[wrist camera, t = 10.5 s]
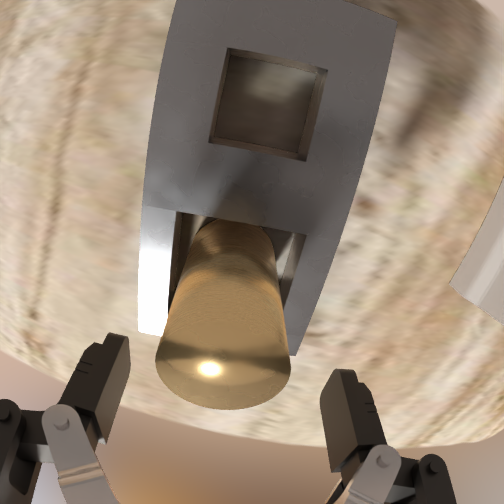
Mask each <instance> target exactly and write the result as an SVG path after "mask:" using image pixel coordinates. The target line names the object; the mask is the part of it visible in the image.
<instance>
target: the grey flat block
mask: <svg viewBox="0 0 504 504" xmlns="http://www.w3.org/2000/svg"><path fill="white" fill-rule="evenodd" d="M396 26H397V21H395V20H393V19H391V18H388V17H386V16H384V15H381V14H379V13H376V12H374V11H371V10H369V9H366V8H363V7H361V6H358V5H355V4H352V3H349V2H346V1H343V0H176V4H175V8H174V12H173V15H172V19H171V23H170V27H169V32H168V36H167V40H166V45H165V49H164V54H163V59H162V64H161V69H160V74H159V79H158V84H157V90H156V96H155V102H154V108H153V114H152V121H151V128H150V135H149V142H148V150H147V159H146V168H145V178H144V188H143V200H142V214H141V229H140V250H139V331H140V332H145V333H149V334H154V335H159V336H162V333H163V330H164V327H165V323H166V320H167V317H168V314H169V311H170V308H171V304H172V301H173V298H174V295H175V283H176V272H177V262H178V252H179V243H180V234H181V226H182V218H183V212H185V213H191V214H197V215H202V216H208V217H214V218H219V219H225V220H231V221H236V222H242V223H247V224H253V225H258V226H263V227H269V228H274V229H279V230H284V231H290V232H295V235H294V239H293V242H292V246H291V249H290V252H289V256H288V259H287V263H286V266H285V270H284V273H283V276H282V280H281V283H280V287H279V288H280V295H281V301H282V308H283V315H284V322H285V329H286V336H287V343H288V350H289V355H291V356H296V354H297V351H298V349H299V346H300V344H301V342H302V339H303V337H304V334H305V332H306V329H307V327H308V324H309V322H310V319H311V317H312V314H313V312H314V309H315V307H316V304H317V301H318V299H319V296H320V293H321V291H322V288H323V285H324V283H325V280H326V277H327V275H328V272H329V269H330V266H331V264H332V261H333V258H334V255H335V252H336V249H337V246H338V244H339V241H340V238H341V235H342V232H343V229H344V226H345V223H346V220H347V217H348V214H349V210H350V207H351V204H352V201H353V198H354V195H355V191H356V188H357V185H358V182H359V178H360V175H361V171H362V168H363V165H364V161H365V158H366V154H367V151H368V147H369V143H370V140H371V136H372V132H373V129H374V125H375V121H376V117H377V113H378V109H379V105H380V101H381V97H382V93H383V89H384V84H385V80H386V75H387V71H388V66H389V62H390V57H391V52H392V47H393V42H394V37H395V32H396ZM230 55H233V56H240V57H245V58H251V59H256V60H261V61H266V62H271V63H276V64H280V65H284V66H289V67H293V68H297V69H301V70H305V71H309V72H312V73H316V74H317V75H316V79H315V83H314V88H313V92H312V96H311V100H310V105H309V109H308V113H307V117H306V121H305V125H304V130H303V134H302V138H301V142H300V146H299V150H298V153H294V152H290V151H285V150H281V149H276V148H272V147H267V146H262V145H257V144H252V143H247V142H241V141H236V140H230V139H225V138H219V137H214V132H215V127H216V121H217V116H218V111H219V106H220V101H221V96H222V91H223V87H224V82H225V77H226V73H227V68H228V63H229V59H230Z"/></svg>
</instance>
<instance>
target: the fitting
mask: <svg viewBox="0 0 504 504" xmlns="http://www.w3.org/2000/svg"><path fill="white" fill-rule="evenodd" d="M155 363H156V369H157V372H158V374H159V377H160V378H161V380H162V381H163V383H164V384H165V385H166V386H167V387H168V388H169V389H170V390H171V391H172V392H173V393H175V394H176V395H178V396H179V397H181V398H183V399H184V400H186V401H189V402H191V403H193V404H196V405H199V406H203V407H207V408H212V409H221V410H236V409H244V408H249V407H253V406H256V405H259V404H262V403H264V402H266V401H268V400H270V399H272V398H273V397H274V396H276V395H277V394H278V393H279V392H280V391H281V390H282V389H283V388H284V387H285V385H286V384H287V382H288V380H289V377H290V372H291V364H290V357H289V350H288V343H287V336H286V329H285V322H284V315H283V308H282V301H281V295H280V288H279V281H278V275H277V268H276V262H275V255H274V249H273V245H272V243H271V240H270V238H269V237H268V235H267V234H266V233H265V231H264V230H263V229H262V228H260V227H259V226H258V225H253V224H247V223H242V222H236V221H231V220H225V219H217V220H214V221H212V222H210V223H208V224H207V225H205V226H204V227H203V228H202V229H201V230H200V231H199V232H198V233H197V234H196V236H195V238H194V240H193V242H192V245H191V248H190V251H189V253H188V256H187V259H186V262H185V265H184V268H183V271H182V274H181V277H180V280H179V283H178V286H177V289H176V292H175V295H174V298H173V301H172V304H171V308H170V311H169V314H168V317H167V320H166V323H165V327H164V330H163V333H162V336H161V340H160V343H159V346H158V350H157V353H156V359H155Z"/></svg>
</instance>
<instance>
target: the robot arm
mask: <svg viewBox="0 0 504 504" xmlns="http://www.w3.org/2000/svg"><path fill="white" fill-rule="evenodd" d="M130 366H131V362H130V350H129V339H128V337H126V336H122V335H118V334H114V333H108V334H107V336H106V338H105V340H104V342H103V344H99V343H95V342H94V343H93V344H92V345H91V346H89V347H88V348H87V349H86V350H85V351H84V353H83V355H82V357H81V358H80V361H79V362H78V364H77V366H76V368H75V371H74V372H73V374H72V376H71V378H70V380H69V382H68V384H67V386H66V389H65V390H64V392H63V395H62V397H61V399H60V401H59V402H58V403H57V404H56V405H53V406H51V407H49V408H48V409H47V410H46V411H30V410H20V409H19V407H18V405H16V403H14V402H13V401H11V400H8V399H1V400H0V504H31V502H32V498H33V494H34V490H35V486H36V483H37V479H38V476H39V472H40V469H41V465H42V462H43V463H54V464H55V466H56V469H57V472H58V476H59V477H58V482H59V485H60V488H61V490H62V493H63V495H64V498H65V500H66V502H67V504H120V502H119V500H118V498H117V497H116V495H115V493H114V491H113V489H112V487H111V486H110V483H109V482H108V479H107V478H106V475H105V473H104V471H103V469H102V467H101V465H100V463H99V461H98V458H97V456H96V454H95V450H96V446H97V443H98V442H99V443H102V444H105V445H106V443H107V440H108V437H109V434H110V431H111V427H112V424H113V421H114V418H115V415H116V412H117V409H118V406H119V403H120V400H121V397H122V395H123V392H124V389H125V386H126V383H127V380H128V377H129V373H130ZM320 409H321V415H322V420H323V426H324V432H325V438H326V444H327V450H328V456H329V462H330V468H331V472H332V473H333V472H341V476H342V478H341V479H340V480H339V482H338V483H337V484H336V486H335V488H334V489H333V491H332V492H331V494H330V495H329V497H328V498H327V499H326V501H325V502H324V504H457V503H456V499H455V495H454V491H453V488H452V484H451V480H450V477H449V473H448V470H447V466H446V464H445V462H444V461H443V459H442V458H440V457H439V456H437V455H435V454H428V455H425V456H424V457H423V458H421V459H420V460H415V459H410V458H404V457H401V456H400V455H399V453H398V452H397V451H396V450H395V449H394V448H393V447H391V446H388V445H387V442H386V439H385V436H384V432H383V429H382V426H381V422H380V419H379V416H378V413H377V409H376V406H375V405H374V400H373V397H372V394H371V392H370V390H369V389H368V388H367V386H366V385H365V384H364V383H359V382H358V379H357V376H356V373H355V371H354V370H349V369H335V370H334V371H333V372H332V374H331V376H330V378H329V380H328V382H327V383H326V385H325V387H324V389H323V390H322V393H321V396H320Z"/></svg>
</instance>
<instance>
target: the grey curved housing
mask: <svg viewBox="0 0 504 504" xmlns="http://www.w3.org/2000/svg"><path fill="white" fill-rule="evenodd" d="M449 285H450V286H451V287H453V288H454V289H455V290H456V291H457V292H458V293H459V294H460V295H461V296H462V297H464V298H465V299H467V300H468V301H470V302H471V303H473V304H474V305H476V306H477V307H479V308H480V309H482V310H483V311H484V312H486V313H487V314H488V315H490V316H491V317H493V318H494V319H495V320H497V321H498V322H499V323H501V324H502V325H503V326H504V178H503V180H502V183H501V185H500V187H499V190H498V192H497V194H496V196H495V199H494V201H493V203H492V205H491V207H490V209H489V212H488V214H487V216H486V218H485V220H484V222H483V224H482V226H481V228H480V230H479V232H478V234H477V235H476V237H475V239H474V241H473V243H472V245H471V247H470V248H469V250H468V252H467V254H466V256H465V257H464V259H463V261H462V263H461V264H460V266H459V268H458V269H457V271H456V273H455V274H454V276H453V278H452V279H451V281H450V283H449Z"/></svg>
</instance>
